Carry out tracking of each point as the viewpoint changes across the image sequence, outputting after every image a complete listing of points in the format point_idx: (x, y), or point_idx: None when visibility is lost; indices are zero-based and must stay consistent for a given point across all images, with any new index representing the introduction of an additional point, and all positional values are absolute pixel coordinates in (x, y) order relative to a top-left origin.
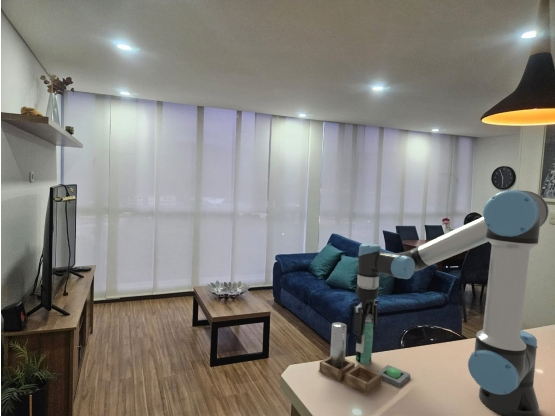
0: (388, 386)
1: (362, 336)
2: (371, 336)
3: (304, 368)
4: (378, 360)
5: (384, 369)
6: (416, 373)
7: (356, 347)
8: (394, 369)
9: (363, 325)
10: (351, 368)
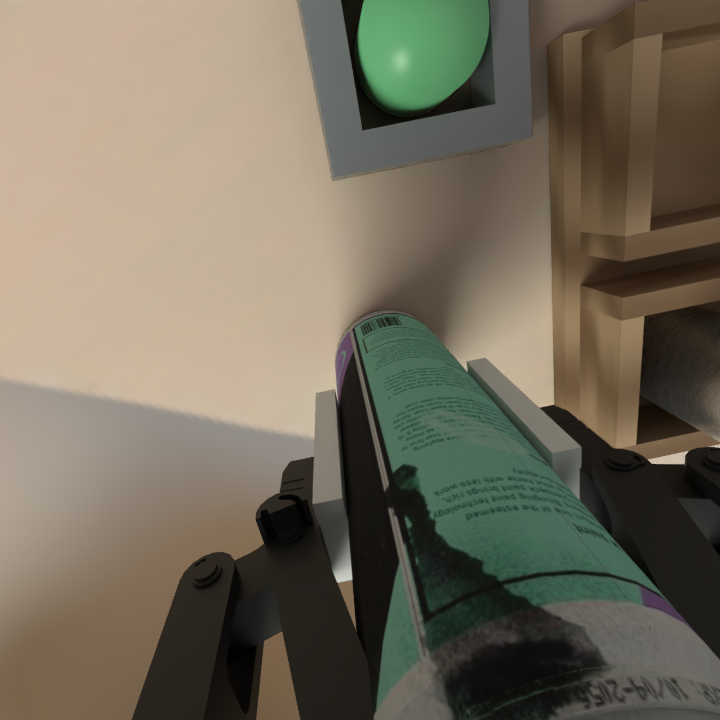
0: None
1: (570, 448)
2: (436, 410)
3: None
4: (258, 333)
5: (428, 138)
6: (119, 7)
7: None
8: (395, 39)
9: (715, 568)
10: (650, 282)
